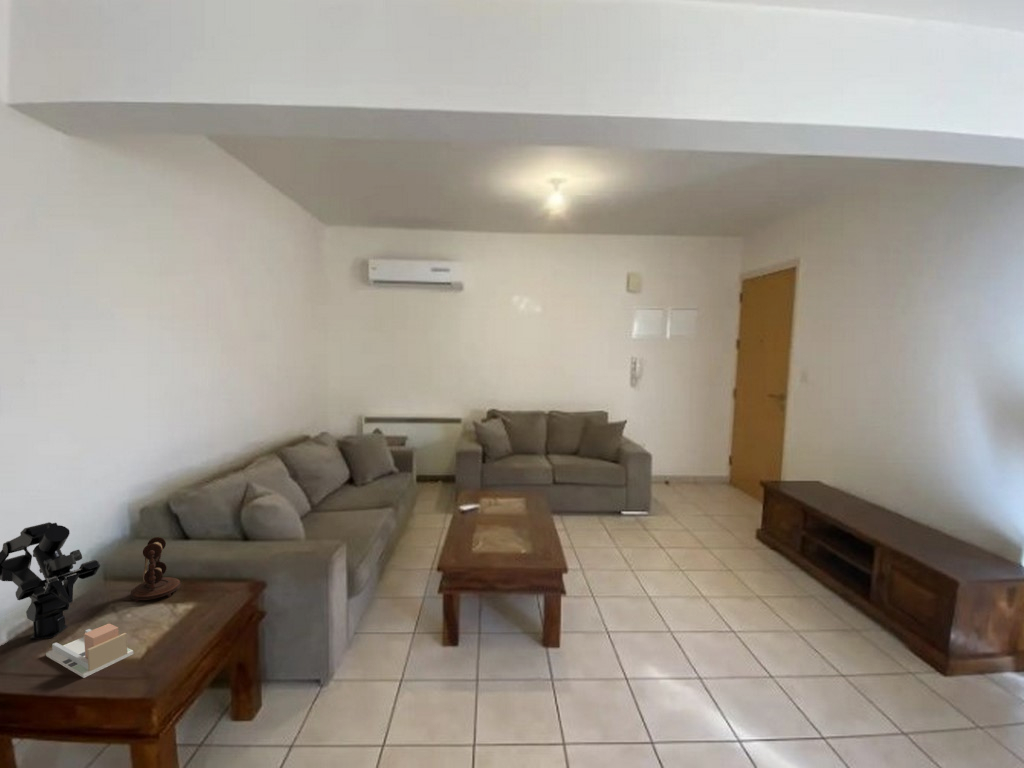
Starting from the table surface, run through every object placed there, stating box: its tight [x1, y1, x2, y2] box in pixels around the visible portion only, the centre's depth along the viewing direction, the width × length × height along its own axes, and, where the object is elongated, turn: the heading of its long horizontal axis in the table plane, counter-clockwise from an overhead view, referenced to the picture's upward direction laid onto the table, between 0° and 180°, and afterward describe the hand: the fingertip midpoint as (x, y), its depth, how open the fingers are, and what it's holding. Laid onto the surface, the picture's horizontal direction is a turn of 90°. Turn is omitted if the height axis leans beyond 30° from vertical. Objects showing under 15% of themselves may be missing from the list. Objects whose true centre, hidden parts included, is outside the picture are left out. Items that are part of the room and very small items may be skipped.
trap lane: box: [45, 628, 134, 679], centre depth 145 cm, size 21×12×7 cm, turn 64°
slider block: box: [83, 622, 120, 659], centre depth 141 cm, size 5×6×8 cm
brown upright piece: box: [130, 536, 181, 603], centre depth 181 cm, size 15×15×20 cm
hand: (70, 602), depth 148 cm, fingers closed
